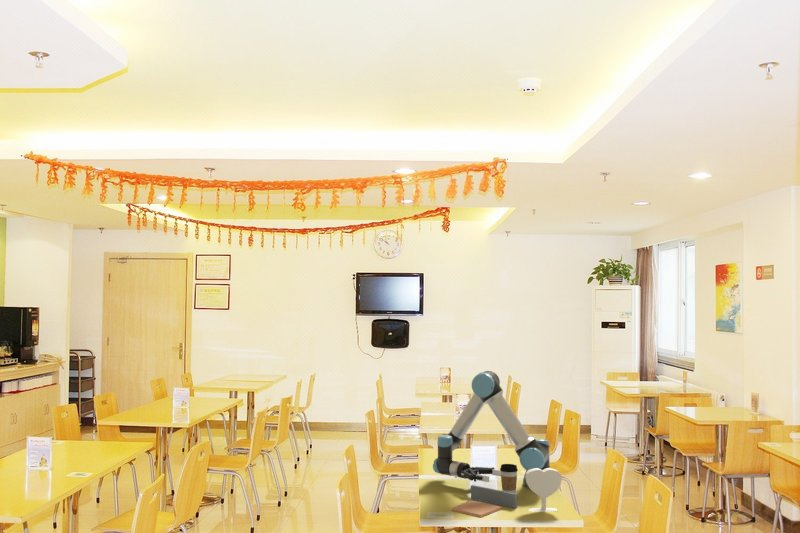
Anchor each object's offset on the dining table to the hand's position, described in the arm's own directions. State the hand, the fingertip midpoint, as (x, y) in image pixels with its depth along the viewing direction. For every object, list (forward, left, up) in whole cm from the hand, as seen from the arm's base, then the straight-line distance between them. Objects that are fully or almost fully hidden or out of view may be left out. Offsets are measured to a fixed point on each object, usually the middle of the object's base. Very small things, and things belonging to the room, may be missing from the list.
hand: (496, 476), depth 328 cm
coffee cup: (-4, +5, -9) cm, 11 cm away
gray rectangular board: (+7, +13, -8) cm, 17 cm away
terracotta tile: (+19, +21, -8) cm, 30 cm away
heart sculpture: (-10, +29, -9) cm, 32 cm away
